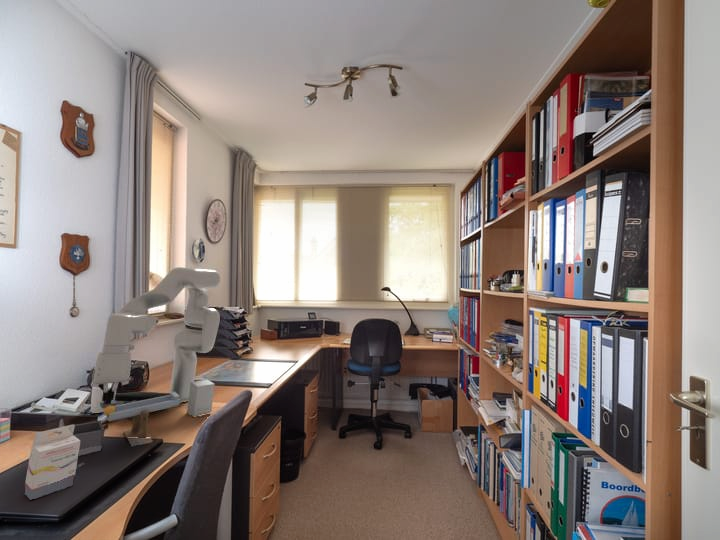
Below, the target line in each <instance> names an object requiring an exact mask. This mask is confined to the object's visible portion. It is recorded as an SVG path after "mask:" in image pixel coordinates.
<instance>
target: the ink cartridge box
mask: <svg viewBox="0 0 720 540" xmlns="http://www.w3.org/2000/svg"><path fill="white" fill-rule="evenodd" d="M75 425H76V424H70V425H64V427H60V428H59V427H57V428H55V427H54V428H52V429H47V430H43V431H39V432H36V433H35V434H34V437H33V443H32V445H31V447H30V453H29V459H28V465H27V471H26V475H25V476H26V477H25V482H24V486H25V485H26V487H28V488H29V489H30V490H35V489H37V488H40V487H43V486H46V485H49V484H51V483H54V482H57V481H60V480H62V479H64V478H67V477H69V476H72V475H75V476H76V470H77V465H78V460H79V459H78V458H79V456H78V454H79V448H80V440H79V439H78V438H76V437H75V436H73V432H74V427H75ZM58 432H62V433H61V434H58ZM54 433H57V434H54ZM52 434H53V435H52ZM49 435H50V436H49Z"/></svg>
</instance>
